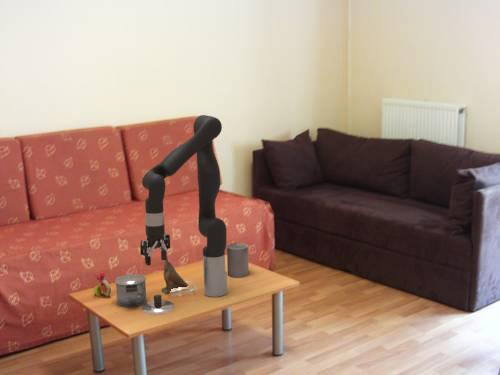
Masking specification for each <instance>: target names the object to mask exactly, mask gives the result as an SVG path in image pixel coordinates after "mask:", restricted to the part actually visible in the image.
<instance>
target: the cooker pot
mask: <svg viewBox="0 0 500 375" xmlns="http://www.w3.org/2000/svg"><path fill="white" fill-rule="evenodd" d="M146 280H147V277H146V276H145V275H144V274H140V273H139V274H138V273H128V274H123V275H120V276H117V277H116V278H115V279H114V282H115V290H116V292H115V293H116V301H117V302H116V304H117V305H118V306H119V307H122V308H137V307H140V306H141V307H142V306H143V305H144V304H146V303H147V301H148V300H147V298H148V297H147V288H146V287H147V284H146V283H147V282H146Z"/></svg>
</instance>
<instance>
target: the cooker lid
mask: <svg viewBox="0 0 500 375" xmlns="http://www.w3.org/2000/svg"><path fill="white" fill-rule="evenodd" d="M174 309H175V303H173V302H172V301H169V300H165V299H164V300H162V295H161V294H155V295H153V300H152V301H148V302H146V303H145V304H143V305H141V310H142V313H144V314H148V315H155V316H156V315H158V316H159V315H163V314H168V313H170V312H172V311H173V310H174Z"/></svg>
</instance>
